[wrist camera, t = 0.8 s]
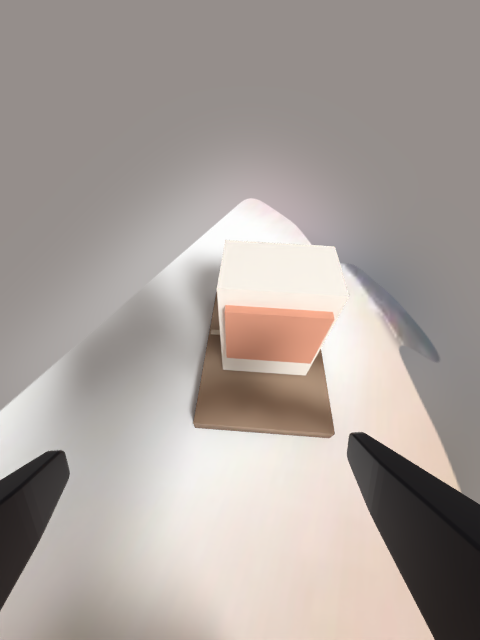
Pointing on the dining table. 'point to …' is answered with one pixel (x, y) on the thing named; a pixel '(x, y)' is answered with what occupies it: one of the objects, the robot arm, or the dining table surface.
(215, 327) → the board
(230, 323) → the block
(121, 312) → the dining table surface
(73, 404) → the dining table surface
